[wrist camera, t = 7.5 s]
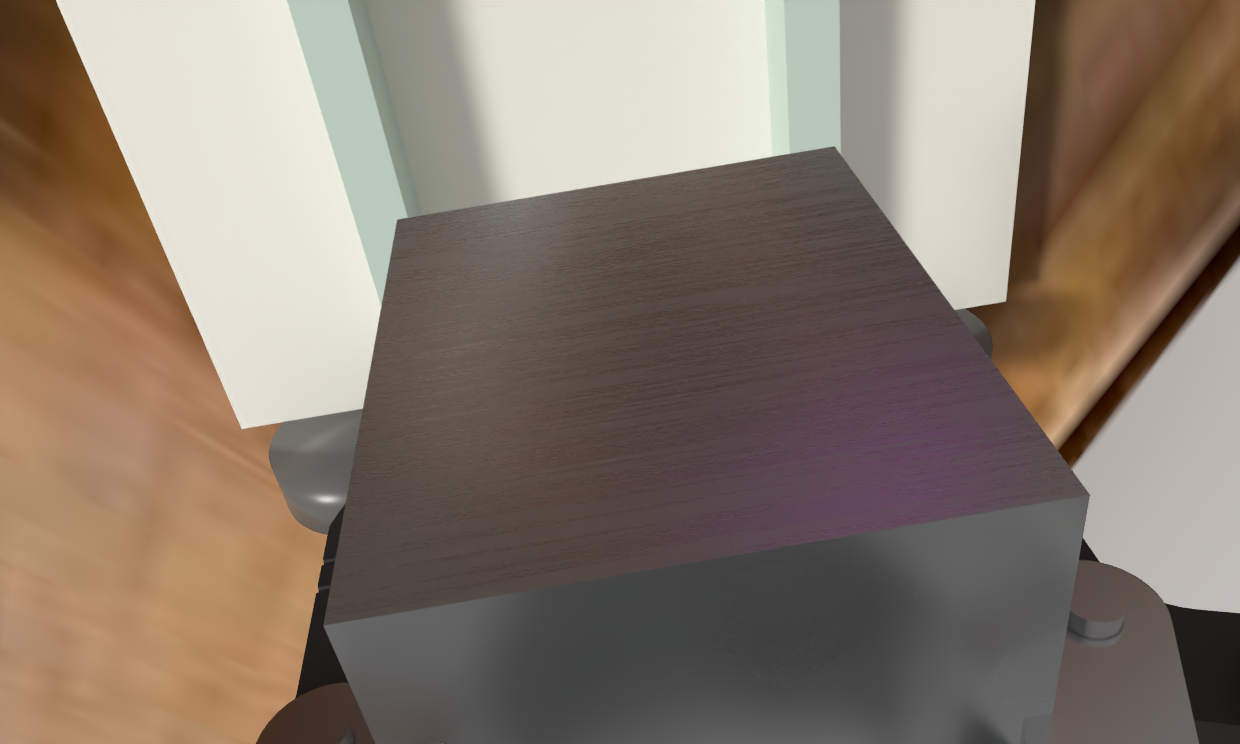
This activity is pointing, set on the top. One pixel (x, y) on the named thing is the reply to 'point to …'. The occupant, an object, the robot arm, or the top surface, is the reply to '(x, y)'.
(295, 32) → the toy chassis
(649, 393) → the block
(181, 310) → the top surface
